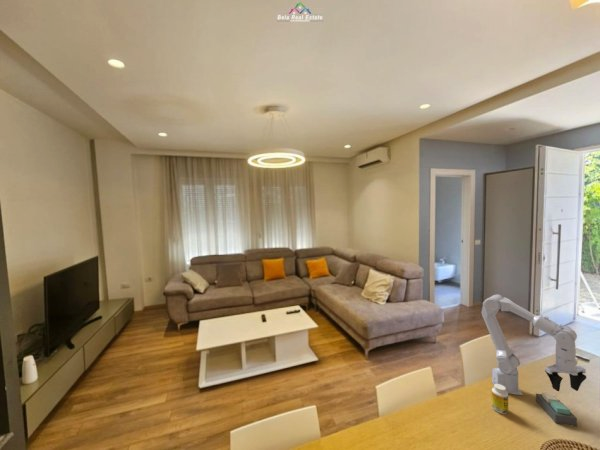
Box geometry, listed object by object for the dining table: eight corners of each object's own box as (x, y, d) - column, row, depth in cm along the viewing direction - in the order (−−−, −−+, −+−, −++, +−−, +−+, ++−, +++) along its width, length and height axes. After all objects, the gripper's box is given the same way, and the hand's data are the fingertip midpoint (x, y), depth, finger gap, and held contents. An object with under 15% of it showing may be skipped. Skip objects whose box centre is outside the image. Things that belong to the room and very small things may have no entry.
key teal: (557, 412, 101) (557, 408, 101) (550, 405, 105) (550, 401, 105) (569, 414, 100) (569, 409, 100) (562, 407, 104) (562, 402, 104)
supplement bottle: (505, 417, 104) (505, 392, 104) (489, 408, 109) (489, 385, 108) (510, 410, 107) (510, 387, 107) (494, 403, 112) (494, 380, 111)
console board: (555, 423, 100) (555, 420, 100) (535, 400, 112) (535, 398, 112) (576, 426, 98) (576, 424, 98) (554, 403, 110) (554, 401, 110)
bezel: (555, 420, 100) (555, 414, 100) (535, 398, 112) (535, 393, 112) (576, 424, 98) (577, 418, 98) (554, 401, 110) (554, 396, 110)
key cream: (548, 403, 107) (548, 398, 106) (541, 396, 110) (541, 392, 110) (559, 404, 105) (559, 400, 105) (553, 398, 109) (553, 393, 109)
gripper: (557, 363, 100) (557, 396, 101) (594, 362, 100) (593, 395, 100) (540, 353, 107) (540, 384, 108) (575, 353, 107) (574, 384, 107)
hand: (565, 389), depth 105 cm, fingers open, 7 cm apart
